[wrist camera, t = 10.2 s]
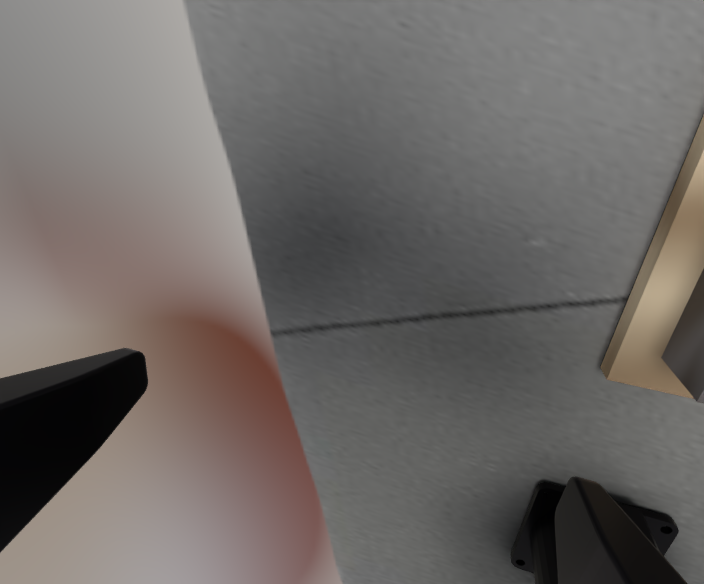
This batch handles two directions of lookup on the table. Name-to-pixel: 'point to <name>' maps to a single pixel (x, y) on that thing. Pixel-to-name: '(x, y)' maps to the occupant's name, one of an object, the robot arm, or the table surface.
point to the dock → (668, 297)
